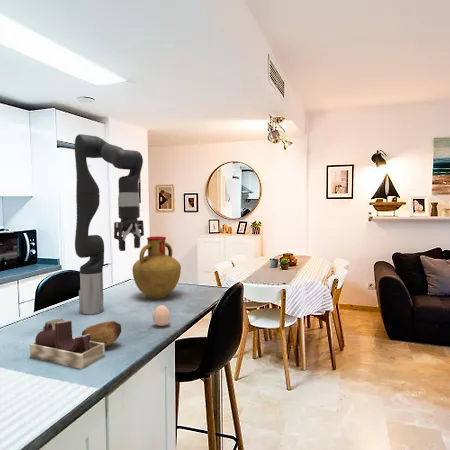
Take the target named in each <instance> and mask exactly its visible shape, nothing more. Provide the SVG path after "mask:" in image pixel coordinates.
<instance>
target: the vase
mask: <svg viewBox="0 0 450 450" xmlns="http://www.w3.org/2000/svg"><path fill="white" fill-rule="evenodd" d="M146 240H147V244H145V245H144V246H143V247H142V248H141V250H140V252H139V259H138V260H136V261H135V263H134V264H133V266H132V268H131V269H132V276H133V280H134V282H135V283H134V284H135V285H136V287H137V288H138V290H139V291H140V292H141V293H143V294H144V295H145V296H146V297H148V298H149V299H152V300H161V299H165V298H166V297H167V296H168V295H169V294H171V293H172V292H173V290H175V289H176V286H177V284H178V283H179V280H180V277H181V273H182V272H181V271H182V266H181V263H180V262H179V260H177V259H175V257H173V248H172V245H170V244H169V243H168V242H166V240H167V238H166V237H165V236H159V235H157V236H148V237H146ZM166 249H167V251H168V254H166ZM146 251H147V255H145V253H146Z"/></svg>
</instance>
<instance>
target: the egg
mask: <svg viewBox="0 0 450 450" xmlns="http://www.w3.org/2000/svg"><path fill="white" fill-rule="evenodd" d="M152 320H153V322H154V324H156V326H159V327H164V326H166V325H167V324H169V322H170V320H171V312H170V310H169V309H168V307H167V306H166V305H163V304H162V305H161V304H160V305H158V306H156V308H155V309H154V311H153V313H152Z"/></svg>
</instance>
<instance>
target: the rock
mask: <svg viewBox="0 0 450 450" xmlns="http://www.w3.org/2000/svg"><path fill="white" fill-rule="evenodd" d="M63 321H66V320H65V319H63V318H56V319H50V320H48V321H46V322H45V323H44V326H45V325H46V324H52V330H55V323H58V322H63ZM44 326H43V328H42V331H44Z"/></svg>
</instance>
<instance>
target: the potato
mask: <svg viewBox="0 0 450 450" xmlns="http://www.w3.org/2000/svg"><path fill="white" fill-rule="evenodd" d="M121 333H122V325H121V324H120V323H118V321H117V322H116V321H115V320H113V321H112V320H111V321H105V322H104V321H103V322H101V323H95V324H93V325H90V326H88V327H86V328H85V329H84V330H82V332H81V336H83V335H87V334H90V341H94V342H99V343H104V344H105V348H106V347H108V346H111V345H112V344H113V343H115V342H116V341H117V339H118V338H119V337H120V335H121Z"/></svg>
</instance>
